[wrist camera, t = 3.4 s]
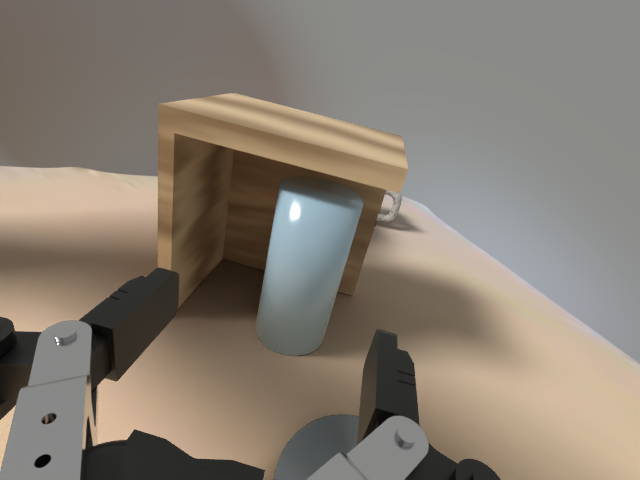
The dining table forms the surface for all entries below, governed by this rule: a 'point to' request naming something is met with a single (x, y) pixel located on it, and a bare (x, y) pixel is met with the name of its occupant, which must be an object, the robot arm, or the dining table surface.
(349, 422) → the coaster
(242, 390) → the dining table surface
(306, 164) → the shelf
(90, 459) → the robot arm
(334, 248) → the light blue piece
